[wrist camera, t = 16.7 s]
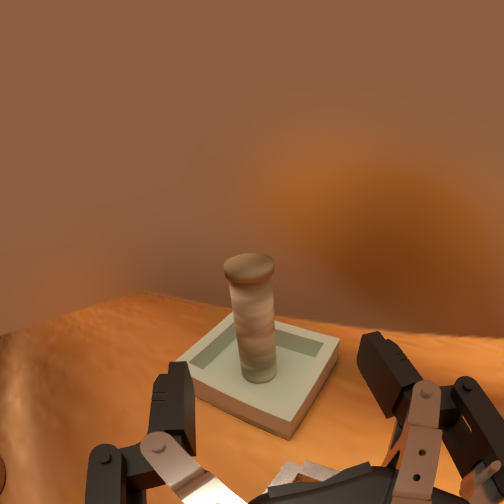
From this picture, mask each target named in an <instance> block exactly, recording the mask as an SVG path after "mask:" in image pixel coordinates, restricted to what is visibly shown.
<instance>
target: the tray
mask: <svg viewBox="0 0 504 504" xmlns="http://www.w3.org/2000/svg"><path fill="white" fill-rule="evenodd" d="M274 323H275V342H276V364H277V373H276V375H275V377H274V378H273V379H272V380H270V381H268V382H265V383H260V384H256V383H251V382H249V381H247V380H245V379H244V377H243V376H242V371H241V364H240V358H239V351H238V344H237V337H236V330H235V323H234V316H233V312H232V313H231V314H230V315H228V316H227V317H226V318H225V319H224V320H223V321H221V322H220V323H219V324H218V325H217V326H216V327H214V328H213V329H212V330H211V331H210V332H209V333H207V334H206V335H205V336H204V337H203V338H202V339H200V340H199V341H198V342H197V343H196V344H194V345H193V346H192V347H191V348H190V349H189V350H187V351H186V352H185V353H184V354H183V355H181V356H180V357H179V358H178V359H177V360H175V361H174V362H177V361H187V363H188V367H189V371H190V374H191V378H192V381H193V385H194V392H195V396H196V397H198V398H200V399H202V400H204V401H205V402H207V403H209V404H211V405H213V406H215V407H217V408H219V409H221V410H223V411H225V412H227V413H229V414H231V415H233V416H235V417H237V418H239V419H241V420H243V421H245V422H247V423H249V424H251V425H254V426H256V427H258V428H260V429H263V430H265V431H267V432H269V433H272V434H274V435H277V436H279V437H281V438H284V439H286V440H290V439H291V437H292V436H293V434H294V433H295V431H296V430H297V428H298V427H299V425H300V423H301V422H302V420H303V419H304V417H305V415H306V414H307V412H308V411H309V409H310V407H311V406H312V404H313V402H314V401H315V399H316V397H317V395H318V394H319V392H320V390H321V388H322V387H323V385H324V383H325V381H326V380H327V378H328V376H329V374H330V372H331V371H332V369H333V367H334V365H335V363H336V361H337V356H338V350H339V343H340V339H339V338H336V337H332V336H328V335H324V334H321V333H317V332H313V331H310V330H306V329H303V328H299V327H296V326H292V325H289V324H285V323H282V322H278V321H275V320H274Z"/></svg>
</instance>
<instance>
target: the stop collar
mask: <svg viewBox="0 0 504 504" xmlns="http://www.w3.org/2000/svg"><path fill="white" fill-rule="evenodd" d="M339 472H340V471H337V470H333V469H330V468H327V467H324V466H321V465H318V464H316V463H313V462H310V461H307V460H306V461H305V462H304V464H303V466H300V465H297V464H295V463H292V462H290V461H286V462H285V464H284V465H283V467H282V468H281V470H280V471H279V473H278V474H277V475H276V477H275V478H274V480H273V481H272V482H271V484H270V485H269V486H268V487H271V486H277V485H282V484H288V483H293V482H296V480H299V481H302V482H322V481H325V480H327V479H328V478H330V477H332V476H334V475H336V474H338V473H339ZM267 492H268V489H266V490H265V492H264V493H267ZM264 493H263V494H264Z"/></svg>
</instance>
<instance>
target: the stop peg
mask: <svg viewBox="0 0 504 504" xmlns="http://www.w3.org/2000/svg"><path fill="white" fill-rule="evenodd" d="M224 271H225V276H226V278H227V279H228V280H229V286H230V294H231V301H232V309H233V316H234V323H235V330H236V337H237V344H238V351H239V358H240V364H241V371H242V376H243V377H244V379H245V380H247V381H249V382H251V383H256V384H260V383H265V382H268V381H270V380H272V379H273V378H274V377H275V375H276V373H277V364H276V342H275V323H274V304H273V286H272V275H273V274H274V272H275V271H274V260H273V259H272V257H270V256H268V255H265V254H258V253H250V254H241V255H237V256H234V257H232V258H230V259H228V260H227V261H226V262H225V263H224Z"/></svg>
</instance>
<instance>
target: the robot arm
mask: <svg viewBox="0 0 504 504" xmlns="http://www.w3.org/2000/svg"><path fill="white" fill-rule="evenodd" d="M357 366H358V369H359V371H360V372H361V374H362V376H363V378H364V379H365V381H366V383H367V385H368V386H369V388H370V390H371V392H372V393H373V395H374V397H375V399H376V401H377V402H378V404H379V406H380V408H381V410H382V411H383V413H384V415H385V417H386V419H388V418H390V417H393V416H395V417H396V419H397V420H396V422H395V426H394V430H393V434H392V437H391V441H390V445H389V448H388V452H387V455H386V457H385V459H384V461H383V463H382V466H370V463H369V461H368V462H365V463H362V464H360V465H357V466H353V467H350V468H347V469H345V470H343V471H341V472H339V473H338V474H336V475H334V476H332V477H330V478H328V479H327V480H325V481H322V482H293V483H288V484H282V485H277V486H271V487H267V489H268V492H267V493H264V494H262V495H260V496H258V497H256V498H254V499H253V500H251V501H250V502H249V503H248V504H500V503H502V502H503V501H504V420H503V418H502V417H501V415H500V414H499V412H498V411H497V409H496V408H495V407H494V405H493V404H492V402H491V401H490V399H489V398H488V397H487V395H486V394H485V392H484V391H483V390H482V388H481V387H480V386H479V384H478V383H477V382H476V380H474V379H473V378H471V377H468V376H462V377H460V378H458V379H457V380H456V382H455V384H454V385H450V386H441V387H439V386H438V385H437V384H436V383H434V382H432V381H429V380H423V378H422V377H421V376H420V374H419V373H418V371H417V370H416V369H415V367H414V366H413V365H412V363H411V362H410V361H409V359H407V357H406V355H405V354H404V353H403V351H402V350H401V349H400V347H399V346H398V345H397V344H396V343H394V342H393V341H391V340H390V339H387V340H385V339H384V337H383V336H382V335H381V333H380V332H378V331H376V332H372V333H368V334H363V335H362V338H361V342H360V346H359V351H358V355H357ZM152 393H153V395H152V400H151V401H152V402H151V409H150V418H149V427H148V433H147V435H146V436H145V437H144V438H143V439H142V441H141V442H139V443H138V444H136V445H133V446H129V447H125V448H120V449H117V448H116V447H115V446H113V445H110V444H101V445H98V446H96V447H95V448H94V449H93V450H92V451H91V453H90V456H89V463H88V471H87V481H86V493H85V504H147V501H146V489H149V488H153V487H157V486H161V485H165V484H167V485H168V486H169V487H170V488H171V489H172V490H173V491H174V493H175V494H176V495H177V496H178V497H179V498H180V499H181V500H182V501H183V502H184V503H185V504H247V503H246V502H244V501H243V500H242V499H241V498H239V497H238V496H237V495H236V494H235V493H233V492H232V491H231V490H230V489H229V488H227V487H226V486H225V485H224V484H223V483H222V482H221V481H219V480H218V479H217V478H216V477H215V476H214V475H213V474H211V473H210V472H209V471H206V470H204V469H203V468H202V467H201V466H200V465H199V464H198V463H197V462H196V461H195V460H194V459H193V458H192V457H191V456H196V433H195V392H194V385H193V381H192V378H191V374H190V371H189V367H188V363H187V361H177V362H170V363H169V370H168V374H159V376H158V377H157V379H156V380H155V382H154V385H153V392H152ZM462 416H464V418H465V419H466V421H467V423H468V424H469V426H470V428H471V430H472V433H471V431H470V429H469V427H468V426H467V424H466V423H465V421H464V419H463V418H462ZM441 440H443V442H444V444H445V446H446V448H447V450H448V452H449V454H450V456H451V457H452V459H453V461H454V463H455V465H456V467H457V469H458V471H459V473H460V475H461V478H462V481H461V486H460V488H461V489H460V490H459V494H460V496H462V497H459V496H456V495H453V494H451V493H448V492H445V491H443V490H440V489H438V488H435V487H433V486H434V481H435V476H436V471H437V466H438V460H439V454H440V447H441ZM4 481H5V467H4V464H3V461H2V459H1V457H0V492H1V490H2V488H3V485H4Z"/></svg>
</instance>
